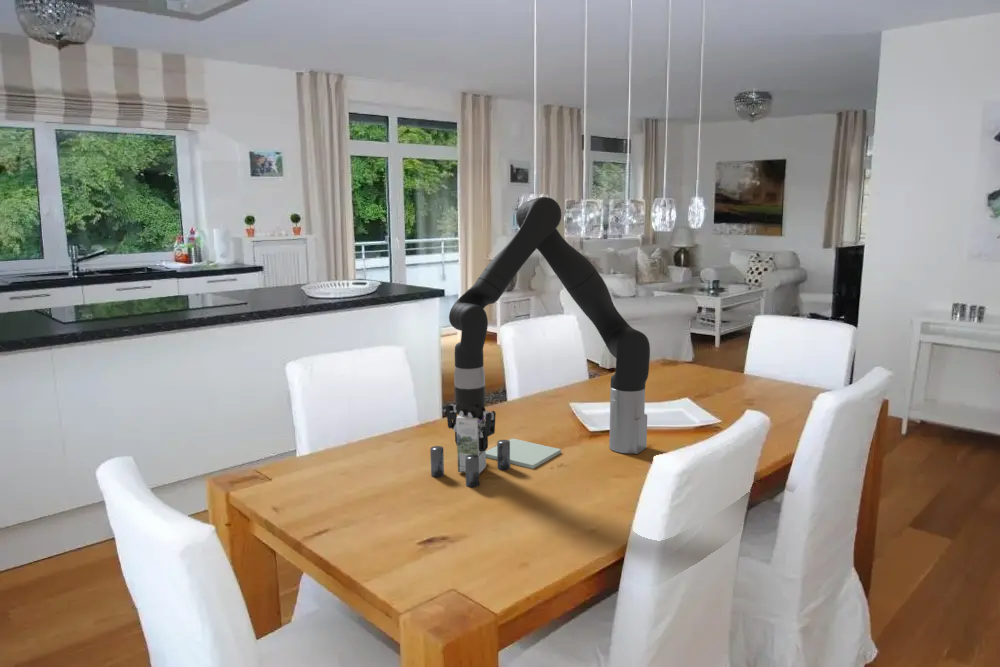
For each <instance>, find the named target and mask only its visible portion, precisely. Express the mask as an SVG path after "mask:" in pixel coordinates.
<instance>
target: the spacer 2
mask: <svg viewBox="0 0 1000 667" xmlns="http://www.w3.org/2000/svg"><path fill="white" fill-rule="evenodd" d="M465 464H466V473H465V487H467V488H477V487H479V486H480V473H479V456H477V455H467V456H466V457H465Z"/></svg>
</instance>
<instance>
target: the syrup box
mask: <svg viewBox="0 0 1000 667" xmlns="http://www.w3.org/2000/svg"><path fill="white" fill-rule="evenodd" d="M483 417H484V418H485V416H483ZM484 420H485V419H484ZM485 421H486V420H485ZM480 424H482V419H481V420H479V419H478V418H469V417H468V416H467V415H464V416H460V415H458V414H457V417H456V427H457V445H456V448H457V450H456V451H457V452H456V453H457V472H458V473H465V474H466V464H465V457H466V456H467V455H477V456H479V474H481V473H482V472H483V471H484V470H485V469H486V467H487V457H486V452H485V451H486V450H485V451H483V452H481V451H479V437H480V436H479V429H478V425H480ZM481 429H482V428H481ZM482 431H483V430H482Z"/></svg>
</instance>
